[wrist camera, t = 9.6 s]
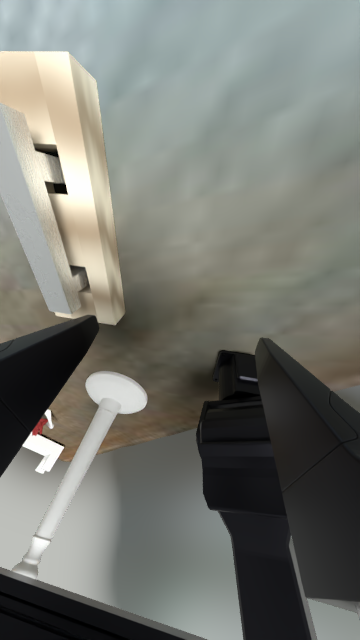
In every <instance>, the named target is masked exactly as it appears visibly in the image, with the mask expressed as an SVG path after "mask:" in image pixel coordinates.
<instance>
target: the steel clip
mask: <svg viewBox="0 0 360 640" xmlns="http://www.w3.org/2000/svg"><path fill="white" fill-rule="evenodd" d="M45 182H47V183H55V184H66V183H65V179H64V175H63V171H62V167H61V162H60V158H58V157H54V156H51V155H47V154H44V153H40V152H37V151H35V148H34V145H33V141H32V138H31V134H30V131H29V128H28V124H27V121H26V117H25V114H23V113H21V112H19V111H17V110H15V109H13V108H11V107H8V106H6V105H4V104H2V103H0V194H1V197H2V199H3V202H4V204H5V206H6V209H7V211H8V213H9V216H10V218H11V221H12V223H13V225H14V228H15V230H16V232H17V235H18V237H19V240H20V242H21V244H22V247H23V249H24V252H25V254H26V256H27V259H28V261H29V263H30V266H31V268H32V271H33V273H34V275H35V278H36V280H37V282H38V285H39V287H40V290H41V292H42V294H43V297H44V299H45V301H46V304H47V306H48V309H49V311H52V312H59V313H65V314H72V313H74V312H75V311H76V310H78V309H79V308H80V307H81V304H80V301H79V298H78V294H77V292H78V291H80V290H81V289H83V288H84V287H86V286H88V285H89V280H88V276H87V271H86V267H81V266H74V265H71V266H69V264H68V260H67V257H66V253H65V250H64V247H63V243H62V240H61V236H60V233H59V230H58V226H57V223H56V219H55V216H54V213H53V209H52V206H51V202H50V199H49V196H48V192H47V189H46V185H45Z"/></svg>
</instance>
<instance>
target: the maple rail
mask: <svg viewBox="0 0 360 640" xmlns="http://www.w3.org/2000/svg"><path fill="white" fill-rule="evenodd" d="M0 103H2V104H4V105H6V106H8V107H11V108H13V109H15V110H17V111H19V112H21V113H23V114H25V117H26V121H27V124H28V128H29V131H30V134H31V138H32V141H33V145H34V148H35V151H37V152H40V153H44V152H58V154H59V158H60V162H61V167H62V171H63V175H64V179H65V183H66V188H67V192H68V194H60V193H55V190H54V186H53V183H47V182H45V185H46V189H47V192H48V196H49V199H50V202H51V206H52V209H53V213H54V216H55V219H56V223H57V226H58V230H59V233H60V236H61V240H62V243H63V247H64V250H65V253H66V257H67V260H68V264H69V266H71V265H74V266H81V267H86V271H87V276H88V280H89V285H88V286H86V287H84V288H83V289H81V290H80V291H78V292H77V294H78V298H79V301H80V304H81V307H80V308H79V309H78V310H76V311H75V312H74V313H72V314H65V313H59V312H55V314H56V316H60V317H67V318H73V319H76V318H79V317H82V316H85V315H88V314H89V315H95V316H96V318H97V321H98V323H104V324H110V325H116V324H117V323H118V322H119V320H120V319H121V318H122V317H123V315H124V314H125V313H126V312H125V304H124V297H123V289H122V281H121V273H120V265H119V257H118V249H117V241H116V233H115V225H114V217H113V209H112V201H111V193H110V185H109V177H108V170H107V162H106V154H105V146H104V138H103V130H102V122H101V114H100V106H99V98H98V90H97V82H96V80H95V79H94V78H93V77H92V76H91V75H90V74H89V73H88V72H87V71H86V70H85V69H84V68H83V67H82V66H81V65H80V64H79V63H78V62H77V61H76V60H75V58H74V57H73V56H72V55H71V54H70V53H69V52H14V51H0ZM44 154H45V153H44Z"/></svg>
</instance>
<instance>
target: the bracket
mask: <svg viewBox="0 0 360 640" xmlns="http://www.w3.org/2000/svg"><path fill="white" fill-rule="evenodd" d="M22 446H23V447H26V448H28V449H30V450H33V451H35V452H37V453H39V454H41V455H44V458H43V459H42V461H41V462H40V464H39V465H38V467H37V468H36V470H35V471H37V472H39V473H42V474H43V473H44V471H48V472H49V471H50V470H51V468H52V466H53V465H54V463H55V461H56V460H57V458H58V457H59V455H60V453H61V452H62V450H63V448H64V447H63V446H61V445H59V444H57V443H55V442H53V441H51V440H48V439H46V438H44V437H42V436H40V435H38V434H37V436H35V435H33V436H32V432H31V434H30V435H29V437H28V438H27V440H26V441H25V443H24V444H23V445H22Z"/></svg>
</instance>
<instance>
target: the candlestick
mask: <svg viewBox="0 0 360 640" xmlns="http://www.w3.org/2000/svg"><path fill="white" fill-rule="evenodd" d="M86 389H87V392H88V394H89V396H90V397H91V398H92V399H93V400H94V401H95V402H96V403H97V404H98V405H99V408H98V410H97V411H96V414H95V416H94V418H93V420H92V422H91V424H90V426H89V428H88V430H87V432H86V434H85V436H84V438H83V440H82V442H81V444H80V446H79V448H78V450H77V452H76V454H75V456H74V458H73V460H72V462H71V464H70V466H69V468H68V470H67V472H66V474H65V476H64V478H63V480H62V482H61V484H60V486H59V488H58V489H57V491H56V493H55V496H54V498H53V500H52V501H51V504H50V505H49V507H48V509H47V511H46V513H45V515H44V517H43V519H42V521H41V523H40V525H39V527H38V529H37V531H36V533H35V535H34V536H33V540H32V543H31V546H30V548H29V550H28V552H27V553H26V554H25V556H24V557H23V558H22V562H20V563H19V564H17V565H16V566H15V567H14V568H13V569H12V570H11V571H13V572H16V573H19V574H22V575H24V576H27V577H30V578H33V579H36V578H37V575H38V568H37V565H38V564H39V563H40V560H41V556H42V554H43V551H44V550H45V548H46V547H47V546H48V544H49V543H50V542H51V539H52V537H53V535H54V533H55V531H56V530H57V528H58V526H59V524H60V522H61V520H62V518H63V516H64V514H65V512H66V510H67V508H68V507H69V505H70V503H71V501H72V499H73V497H74V495H75V493H76V491H77V489H78V487H79V485H80V483H81V481H82V480H83V478H84V475H85V474H86V472H87V470H88V468H89V466H90V464H91V462H92V460H93V458H94V456H95V455H96V453H97V451H98V449H99V447H100V445H101V443H102V441H103V439H104V437H105V435H106V434H107V432H108V430H109V428H110V426H111V424H112V422H113V420H114V419H115V416H116V415H117V413H121V414H130V413H135V412H138V411H140V410H142V409H143V408H144V407H145V406H146V403H147V394H146V392H145V390H144V389H143V388H142V387H141V386H140V385H139V384H138V383H137V382H136V381H134V380H133V379H131V378H129V377H127V376H125V375H122V374H119V373H116V372H111V371H99V372H95V373H93V374H91V375H90V376H89V377H88V379H87V381H86Z"/></svg>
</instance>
